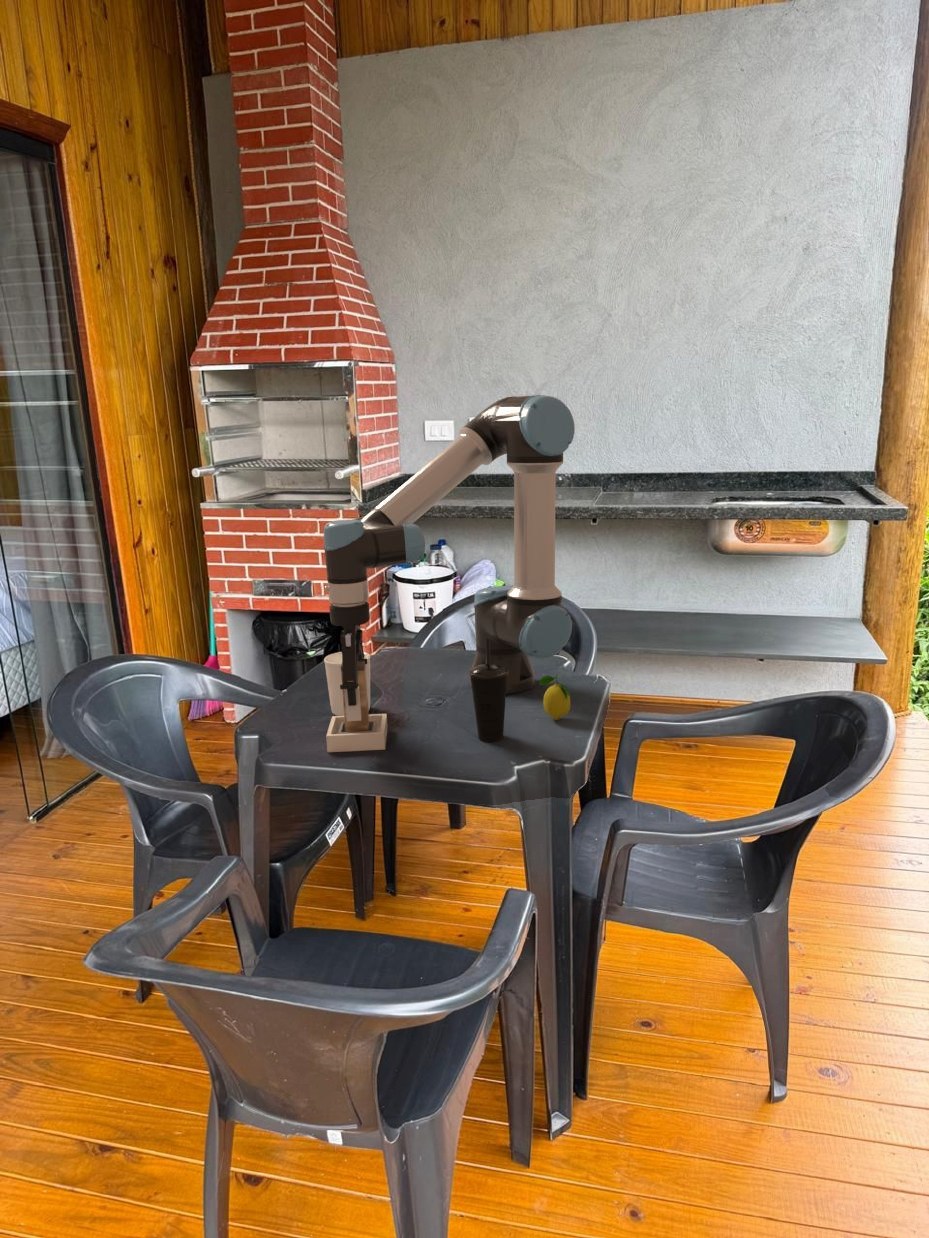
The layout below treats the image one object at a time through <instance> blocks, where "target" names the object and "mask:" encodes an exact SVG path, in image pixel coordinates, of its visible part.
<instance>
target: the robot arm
mask: <svg viewBox="0 0 929 1238" xmlns="http://www.w3.org/2000/svg"><path fill="white" fill-rule="evenodd" d="M574 435H575V421H574V417H573V414H572V412H571V410H570V409H569V407H567V405H566V404H565V403H564V401H562V400H561V399H559V398H557V397H554V396H550V395H544V394H536V395H524V396H523V395H522V396H506V397H503V398H501V399H498V400H497V401H495V402H493V403H492V404H490V405H489V406H487V407H486V408H484V410H482V411H481V412H479V413H478V414H477V415H476V416H475V417H474V418H472V419H471V420H470V421H469V422H468V423H466V424H465V425H464V426H462V428H461V429H460V430H459V435H458V436H459V437H457V438H456V439H454V440H453V441H452V442H451V443H450V444H449V445H448V446H447V447H445V448H444V449H443V450H442V451H440V452H439V453H438V454H437V455H436V456H435V457H434V458H432V459H431V460H429V462H428V463H427V464H425V465H424V466H423V467H422V468H421V469H419V470H418V471H416V473H415V474H414V475H412V476H411V477H410V478H409V479H408V480H406V481H405V482H404V483H403V484H402V485H401V486H399V487H398V488H397V489H396V490H394V492H392V493H391V494H390V495H388V496H387V498H385V499H384V500H383V501H381V502H380V503H379V504H378V505H377V506H376V507H374V508H373V509H371V511H369V512H368V513H367V514H366V515H364V516H363V517H357V518H353V519H338V520H333V521H329V522H328V523H326V524H325V525H324V528H323V550H324V557H325V567H326V568H325V570H326V580H327V585H326V586H324V591H325V592H328V602H329V603H330V605H329V606H328V608H329V609H328V610H329V619H330V623H331V625H333V626H336V627H342V628H343V630H341V633H340V635H339V641H340V643H341V652H342V665H343V684H342V685H340V689H344V692H345V705H346V718H347V721H361V706H360V692H359V686H358V661H363V660H365V664H367V659H364V657H365V656H364V645H363V629H361V625H365V624H367V623H368V622H369V621H370V620H371V612H370V603H369V602H368V600H369V598H370V594H369V580H368V570H369V569H377V568H384V567H391V566H401V565H409V564H413V563H417V562H420V561H421V560H422V559H423V558H424V556H425V553H426V539H425V535H424V533H423V531H422V529H421V527H420V526H419V525H417V524H415V522H416V521H417V520H419V518H421V517H422V516H423V515H425V513H427V512H428V511H429V510H430V509H431V508H432V507H434V506H435V505H436V504H437V503H438V502H440V501H441V500H442V499H443V498H444V497H445V496H447V495H448V494H449V493H450V492H452V490H454V488H456V487H457V486H458V485H459V484H461V483H462V482H463V481H464V480H466V479H467V477H469V476H470V475H471V474H473V472H475V471H476V470H477V469H478V468H479V467H480V466H482V465H483V466H488V465H490V464H492V463H493V461H496V459H497V458H500V457H502V456H504V455H506V465H507V466H508V467H510V468H511V470H512V471H513V474H514V475H513V476H514V477H513V483H514V484H513V490H514V491H513V492H514V493H513V504H514V505H513V506H514V507H513V508H514V509H513V510H514V511H513V514H514V515H513V519H514V521H513V525H514V527H513V531H514V532H513V534H514V535H513V536H514V537H513V538H514V539H513V541H514V542H513V544H514V545H513V547H514V551H513V554H514V555H513V556H514V557H513V561H514V562H513V566H514V567H513V570H514V572H513V574H514V575H513V577H514V579H513V583H514V584H513V585H512V584H510V585H499V586H498V585H497V586H490V587H485V588H484V587H483V588H481V589H478V590H477V591H476V592H475V594H474V600H473V602H474V603H473V608H474V626H475V629H474V630H475V656H474V658H473V659H474V660H473V662H472V667H471V669H472V668H474V667H477V666H479V665H482V664H486V639H489V648H490V664H496V665H499V666H502V667H505V668H507V669H508V675H507V682H506V695H508V694H509V695H510V694H516V693H522V692H525V691H527V690H530V689H532V688H534V687H535V684H536V680H535V679H536V678H535V677H536V675H535V672H534V669H533V666H532V663H531V660H530V657H536V658H539V659H547V658H551V657H553V656H555V655H557V654H558V653H560V652H561V651H562V649H563V648H564V647H565V646H566V645H567V643H568V641H569V640H570V638H571V635H572V630H573V621H572V619H571V615H570V614H569V613H568V612H567V610H566V609H565V608H564V607H562V605H563V604H562V600H563V599H562V598H563V597H562V596H563V593H562V591H561V590H560V589H559V588H558V587H557V586H556V584H555V583H556V579H555V578H556V577H555V576H556V573H555V572H556V571H555V570H556V494H557V493H556V487H557V486H556V485H557V484H556V483H557V482H556V481H557V479H556V477H557V475H556V474H557V473H556V472H557V471H558V469H559V468H560V467H561V466H562V465H563V463H564V452H565V451H567V450H568V449H569V448H570V444H572V442H573V441H574V437H575V436H574ZM347 681H353V682H347ZM469 687H470V688H471V689H472V685H471V677H470V676H469Z"/></svg>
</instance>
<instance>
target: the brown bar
mask: <svg viewBox="0 0 929 1238" xmlns="http://www.w3.org/2000/svg"><path fill="white" fill-rule="evenodd" d="M341 677H342V684H343V665H342V664H341ZM347 682H353V681H347ZM358 686H359V692H360V706H361V721H347V718H346V705H345V692H344V689H342V691H343V704H344V718H345V732H357V731H370V727H369V714H370V713H369V711H368V697H367V682H366V667H365V660H363V661H358Z"/></svg>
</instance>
